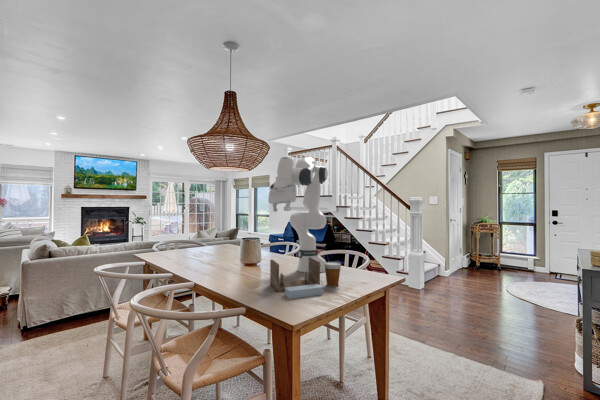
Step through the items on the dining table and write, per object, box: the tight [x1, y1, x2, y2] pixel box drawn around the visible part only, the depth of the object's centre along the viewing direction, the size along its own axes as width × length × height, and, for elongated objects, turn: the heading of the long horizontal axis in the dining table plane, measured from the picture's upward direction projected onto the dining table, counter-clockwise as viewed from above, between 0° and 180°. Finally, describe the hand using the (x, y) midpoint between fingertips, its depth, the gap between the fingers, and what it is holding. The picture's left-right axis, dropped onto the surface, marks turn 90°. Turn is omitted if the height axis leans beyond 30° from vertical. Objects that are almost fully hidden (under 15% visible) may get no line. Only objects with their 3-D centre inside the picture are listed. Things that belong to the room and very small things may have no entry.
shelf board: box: [284, 284, 324, 299], centre depth 147 cm, size 18×6×4 cm, turn 113°
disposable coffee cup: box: [324, 261, 342, 287], centre depth 165 cm, size 10×10×12 cm
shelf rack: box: [269, 257, 321, 293], centre depth 162 cm, size 24×14×14 cm, turn 109°
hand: (280, 211), depth 156 cm, fingers open, 8 cm apart
